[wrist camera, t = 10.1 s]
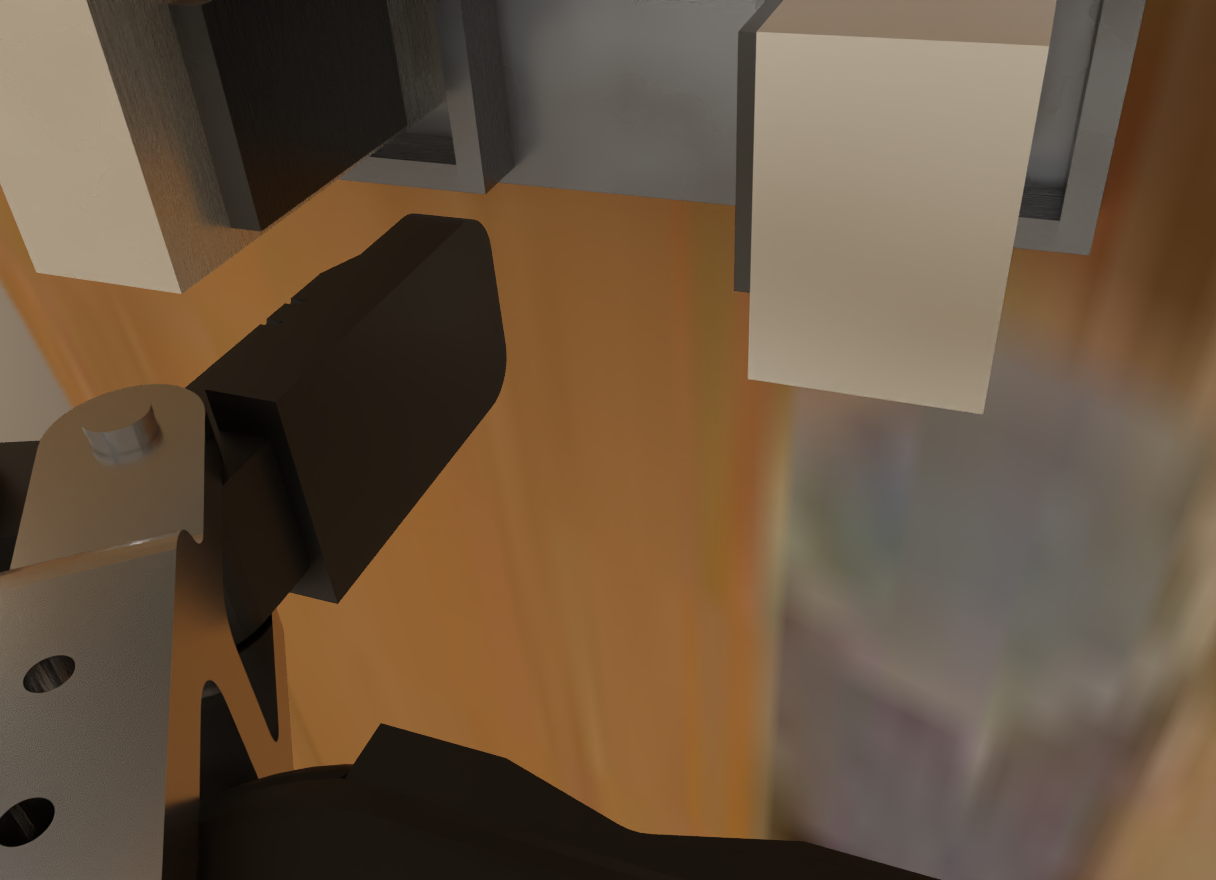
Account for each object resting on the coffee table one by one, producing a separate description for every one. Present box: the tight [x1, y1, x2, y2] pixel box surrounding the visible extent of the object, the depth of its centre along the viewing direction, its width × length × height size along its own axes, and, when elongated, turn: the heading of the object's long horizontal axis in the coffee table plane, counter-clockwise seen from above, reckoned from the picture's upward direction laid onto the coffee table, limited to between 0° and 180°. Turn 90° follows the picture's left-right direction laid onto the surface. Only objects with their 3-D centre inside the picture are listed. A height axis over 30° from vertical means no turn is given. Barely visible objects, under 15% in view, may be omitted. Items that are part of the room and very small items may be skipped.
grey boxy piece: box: [0, 0, 1146, 294], centre depth 19 cm, size 18×8×10 cm, turn 93°
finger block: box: [734, 0, 1057, 414], centre depth 16 cm, size 4×4×9 cm
